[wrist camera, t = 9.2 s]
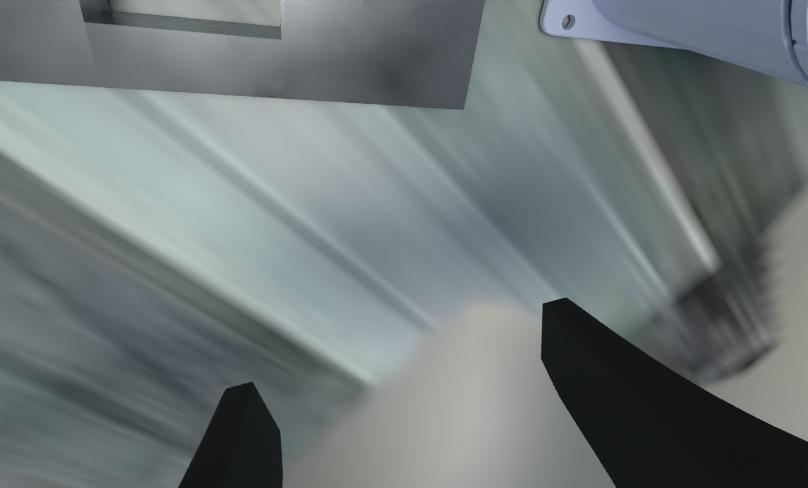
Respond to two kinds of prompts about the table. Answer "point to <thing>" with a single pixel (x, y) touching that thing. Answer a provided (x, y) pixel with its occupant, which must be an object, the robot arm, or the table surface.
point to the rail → (252, 50)
